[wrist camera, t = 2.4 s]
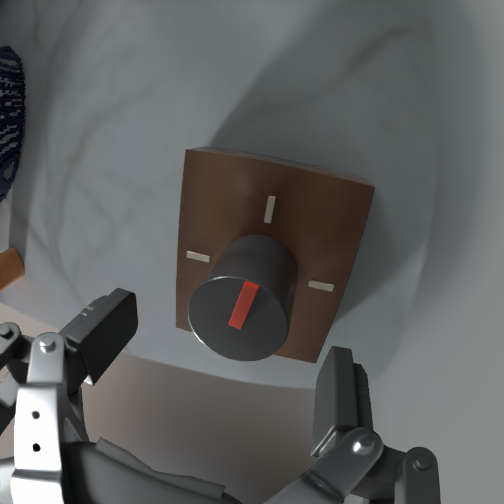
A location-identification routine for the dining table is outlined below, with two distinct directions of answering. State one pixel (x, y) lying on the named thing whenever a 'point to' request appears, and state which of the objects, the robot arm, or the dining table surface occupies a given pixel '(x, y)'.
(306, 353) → the dial panel
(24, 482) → the robot arm
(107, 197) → the dining table surface
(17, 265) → the post
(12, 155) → the decorative bowl
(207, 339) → the dial
